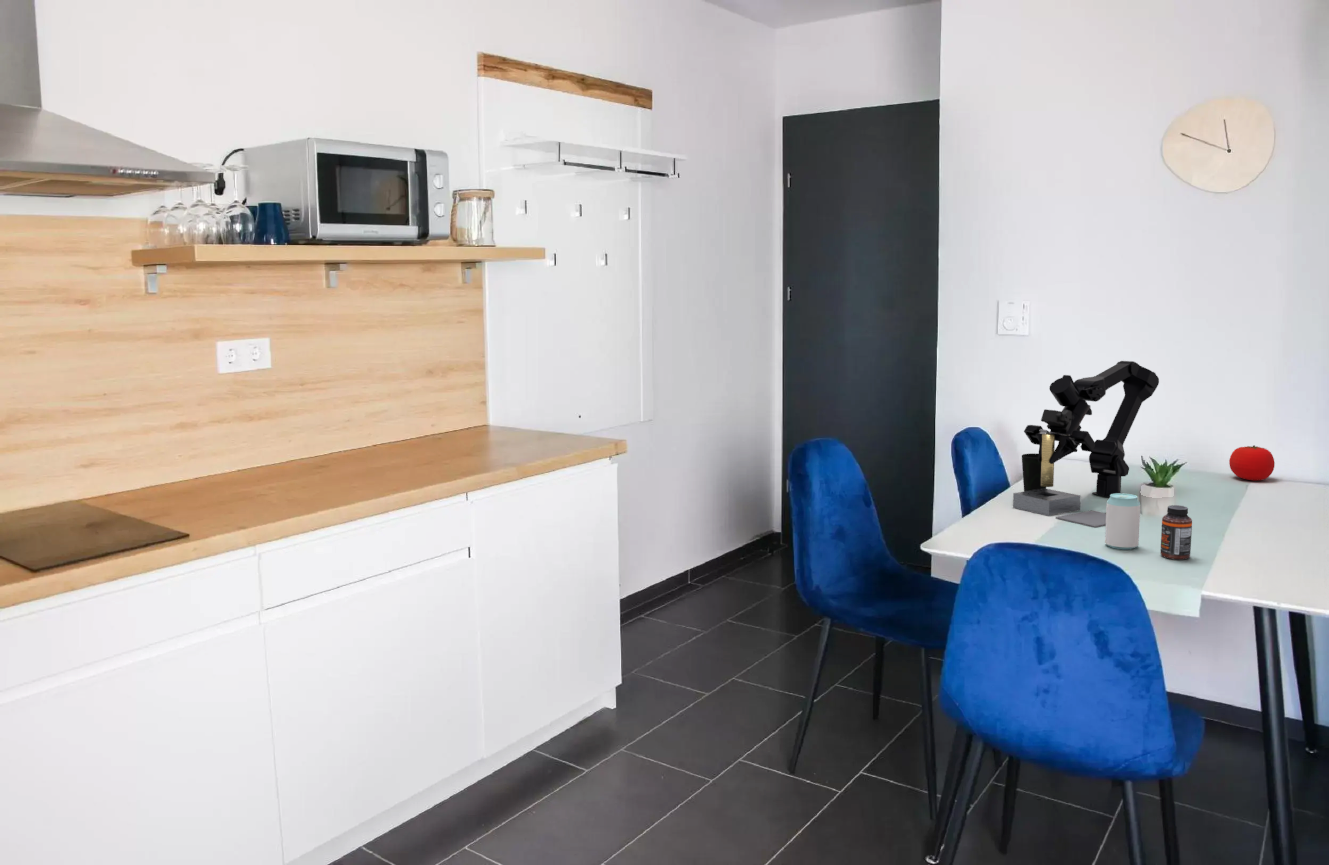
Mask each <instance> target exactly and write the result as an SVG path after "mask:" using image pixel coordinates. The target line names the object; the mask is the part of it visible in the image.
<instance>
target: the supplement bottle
mask: <svg viewBox="0 0 1329 865" xmlns="http://www.w3.org/2000/svg"><path fill="white" fill-rule="evenodd" d="M1188 511H1189V508H1188V506H1184V505H1177V504H1174V505H1173V504H1172V505H1168V506H1167V510H1166V514H1165V515H1163V516H1162V520H1161V535H1160V536H1161V538H1160V555H1161V556H1162V557H1163V558H1166V559H1171V560H1181V561H1183V560H1187V559H1189V558H1190V557H1191V552H1192V551H1191V548H1192V535H1193V534H1192V533H1193V532H1192V530H1193V519H1192V517H1190V516H1189V515H1188V513H1189V512H1188Z"/></svg>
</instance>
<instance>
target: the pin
mask: <svg viewBox="0 0 1329 865" xmlns="http://www.w3.org/2000/svg"><path fill="white" fill-rule="evenodd" d="M1055 443H1056V441H1055V434H1042V458H1041V486H1043V487H1046V488H1052V487H1054V483H1055V482H1054V481H1055V480H1054V479H1055V478H1054V477H1055V476H1054V475H1055V463H1053V464H1050V462H1049V461H1050V458H1051V456H1052V454H1053V453H1054V451H1055V449H1056V447H1055V445H1056V444H1055Z"/></svg>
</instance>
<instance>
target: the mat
mask: <svg viewBox="0 0 1329 865" xmlns="http://www.w3.org/2000/svg"><path fill="white" fill-rule="evenodd" d="M1055 519H1056V520H1061V521H1065V522H1068V523H1072V524H1073V523H1074V524H1078V525H1083V526H1087V527H1091V528H1094V529H1095V528H1101V527H1106V512H1102V511H1097V510H1093V509H1091V510H1086V511H1081V512H1076V513H1074V512H1073V513H1070V514H1064V515H1059V516H1055Z"/></svg>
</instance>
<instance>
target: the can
mask: <svg viewBox="0 0 1329 865" xmlns="http://www.w3.org/2000/svg"><path fill="white" fill-rule="evenodd" d="M1105 513H1106V526H1105V532H1104V533H1105V536H1104V537H1105V540H1104V543H1105V545H1107V546H1108V547H1109V548H1112V549H1116V550H1134V549H1135V548H1137V547H1138V546H1139V545H1140V543H1139V541H1140V540H1139V539H1140V522H1141V503H1140V500H1138V496H1137V495H1136V494H1131V493H1125V494H1124V493H1123V492H1121V493H1116V494H1111V495H1110V498H1109V497H1108V499H1107V501H1106V510H1105Z"/></svg>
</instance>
